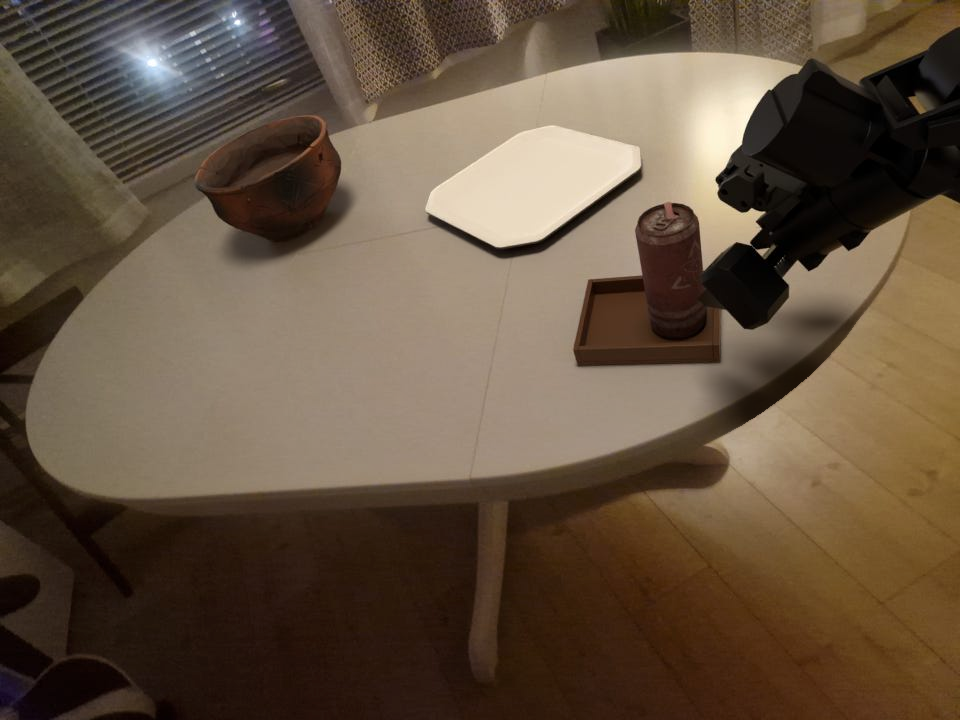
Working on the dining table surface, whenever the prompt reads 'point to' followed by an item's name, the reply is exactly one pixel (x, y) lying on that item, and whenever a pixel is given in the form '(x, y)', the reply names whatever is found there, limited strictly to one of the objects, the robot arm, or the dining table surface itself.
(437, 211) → the plate
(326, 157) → the bowl
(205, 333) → the dining table surface
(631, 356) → the tray
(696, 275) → the can
